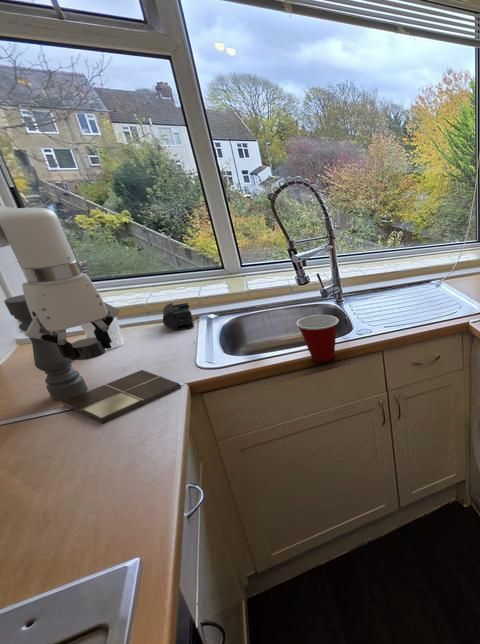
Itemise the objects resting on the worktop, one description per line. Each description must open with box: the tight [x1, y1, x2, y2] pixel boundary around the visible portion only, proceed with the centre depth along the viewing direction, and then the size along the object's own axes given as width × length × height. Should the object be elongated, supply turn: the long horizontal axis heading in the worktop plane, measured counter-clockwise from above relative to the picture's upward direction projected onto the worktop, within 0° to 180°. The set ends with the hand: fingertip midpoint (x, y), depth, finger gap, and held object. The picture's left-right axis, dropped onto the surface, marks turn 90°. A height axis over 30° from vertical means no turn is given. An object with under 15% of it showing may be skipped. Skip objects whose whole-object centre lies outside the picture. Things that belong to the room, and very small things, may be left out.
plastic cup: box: [296, 314, 340, 363], centre depth 116 cm, size 11×11×12 cm
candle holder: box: [3, 294, 89, 402], centre depth 94 cm, size 6×6×25 cm
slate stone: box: [70, 337, 107, 361], centre depth 87 cm, size 5×5×3 cm
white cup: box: [80, 316, 125, 351], centre depth 120 cm, size 8×8×10 cm
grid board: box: [61, 369, 182, 425], centre depth 98 cm, size 16×16×1 cm
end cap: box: [162, 302, 195, 331], centre depth 135 cm, size 10×7×7 cm
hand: (89, 352), depth 88 cm, fingers closed on slate stone, 5 cm apart
